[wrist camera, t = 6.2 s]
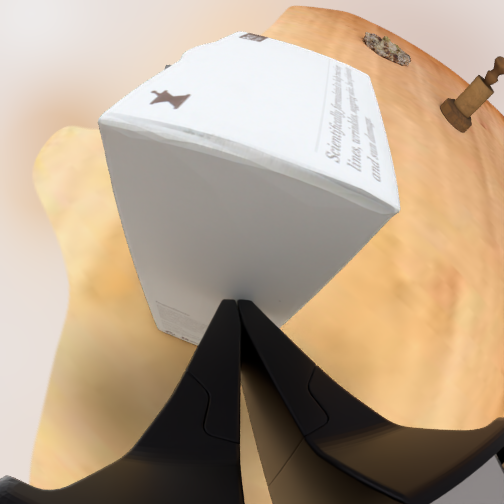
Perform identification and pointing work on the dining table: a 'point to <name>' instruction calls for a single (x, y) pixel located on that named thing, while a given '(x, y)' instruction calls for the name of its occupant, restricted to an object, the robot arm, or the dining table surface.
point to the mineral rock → (387, 49)
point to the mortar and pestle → (472, 98)
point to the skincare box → (246, 178)
